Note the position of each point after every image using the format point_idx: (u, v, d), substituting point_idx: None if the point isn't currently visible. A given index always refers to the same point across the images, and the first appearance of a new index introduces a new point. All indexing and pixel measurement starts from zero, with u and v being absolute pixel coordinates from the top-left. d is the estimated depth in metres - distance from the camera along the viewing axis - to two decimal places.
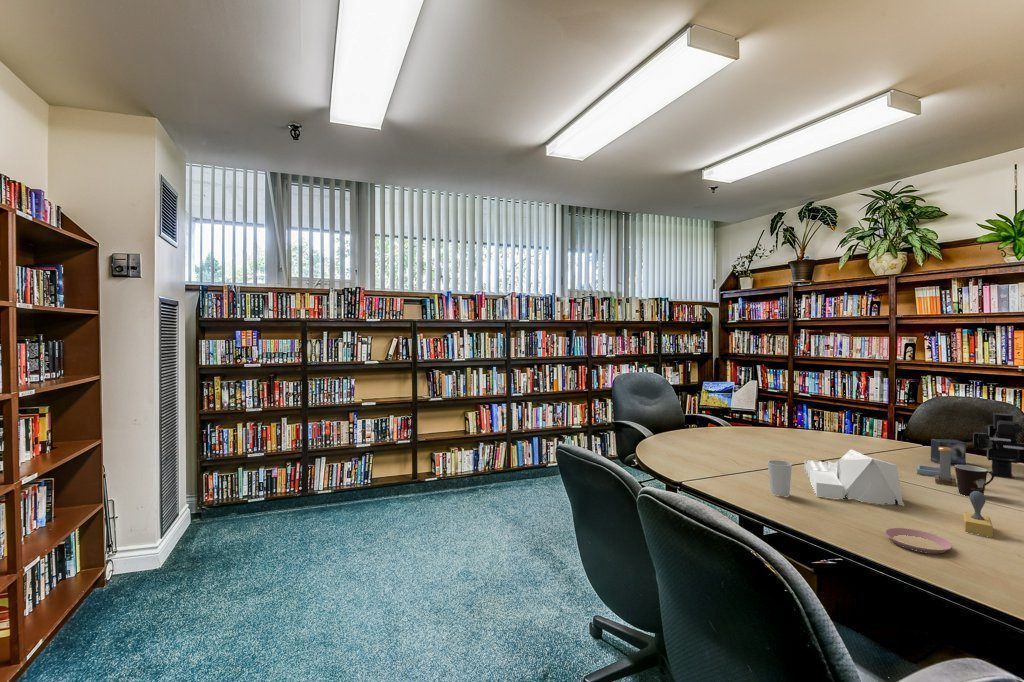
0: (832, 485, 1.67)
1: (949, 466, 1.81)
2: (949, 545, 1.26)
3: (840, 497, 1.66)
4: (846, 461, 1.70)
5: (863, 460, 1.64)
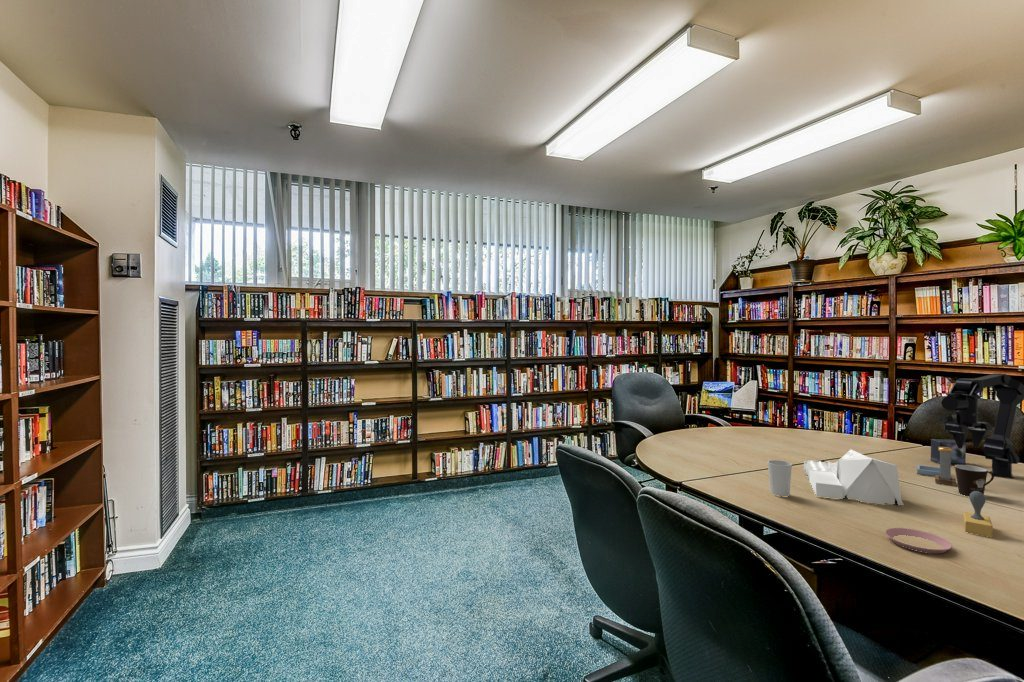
0: (832, 485, 1.67)
1: (949, 466, 1.81)
2: (949, 545, 1.26)
3: (840, 497, 1.66)
4: (846, 461, 1.70)
5: (863, 460, 1.64)
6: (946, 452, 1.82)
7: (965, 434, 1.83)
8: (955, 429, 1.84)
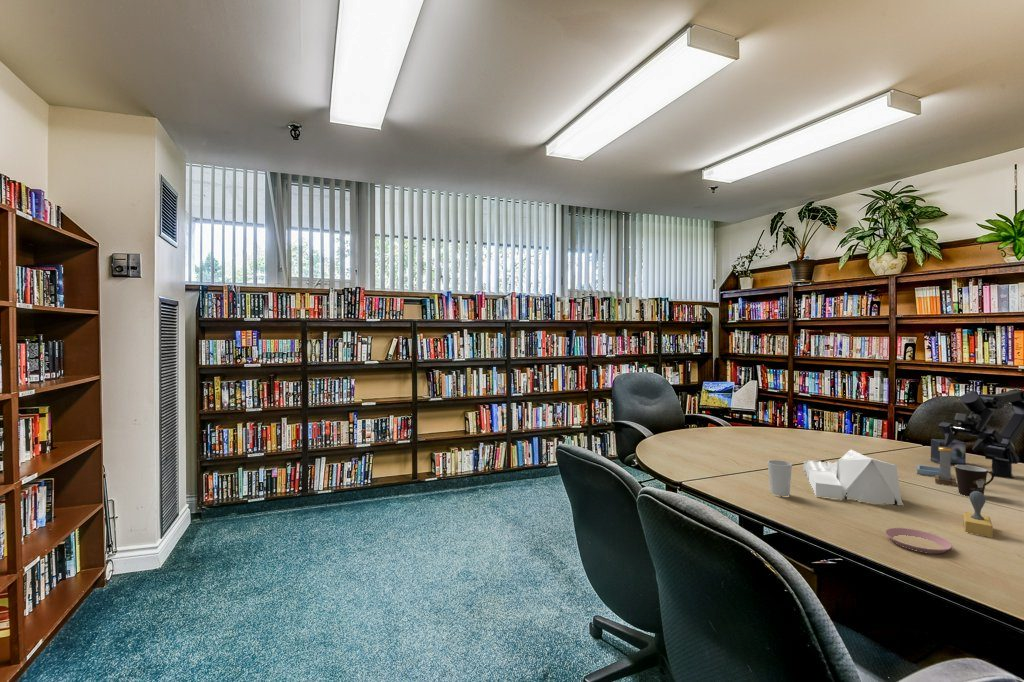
0: (831, 485, 1.67)
1: (949, 466, 1.81)
2: (949, 545, 1.26)
3: (839, 497, 1.66)
4: (845, 461, 1.70)
5: (862, 460, 1.64)
6: (946, 452, 1.82)
7: None
8: (999, 439, 1.78)
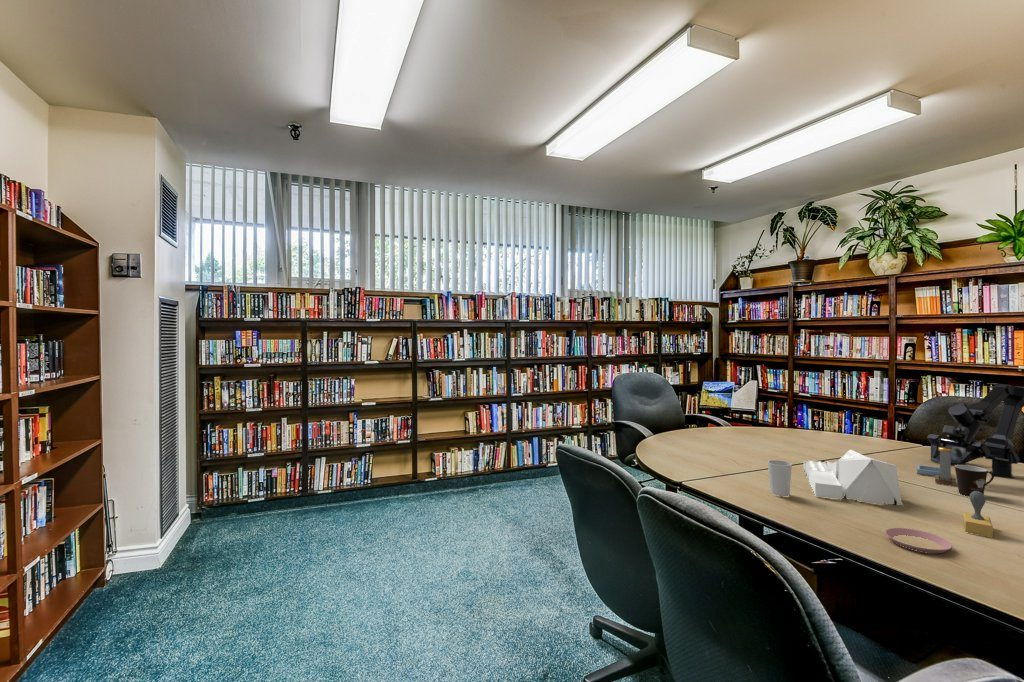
0: (831, 485, 1.67)
1: (949, 466, 1.81)
2: (949, 545, 1.26)
3: (839, 497, 1.66)
4: (845, 461, 1.70)
5: (862, 460, 1.64)
6: (946, 452, 1.82)
7: None
8: (987, 452, 1.76)
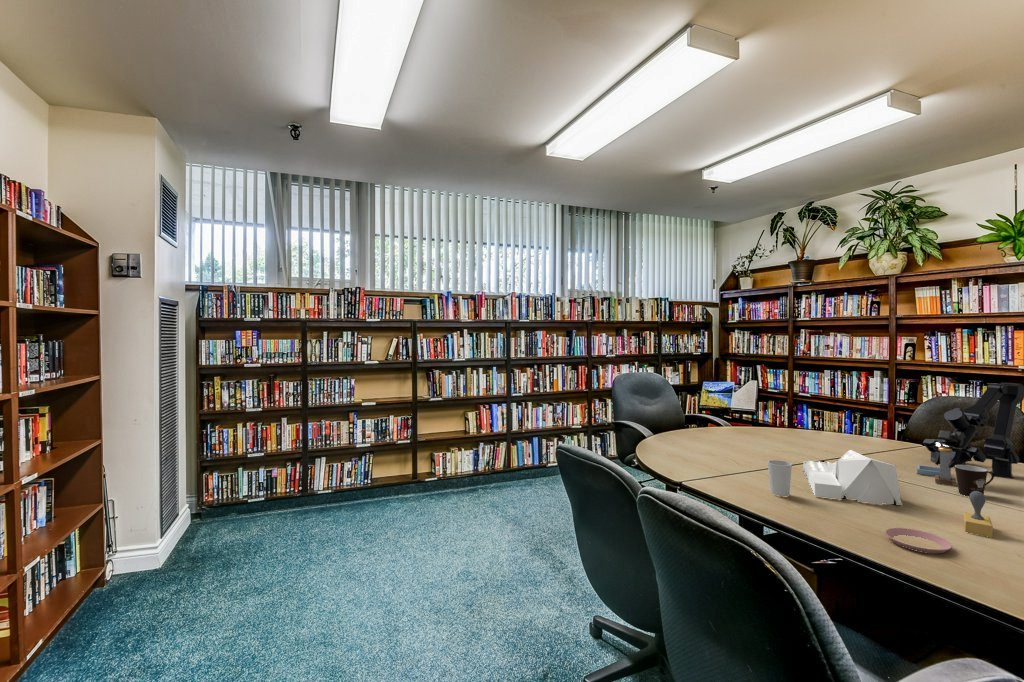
0: (830, 485, 1.67)
1: None
2: (949, 545, 1.26)
3: (838, 497, 1.66)
4: (845, 461, 1.70)
5: (862, 460, 1.64)
6: (946, 452, 1.82)
7: None
8: (983, 457, 1.76)
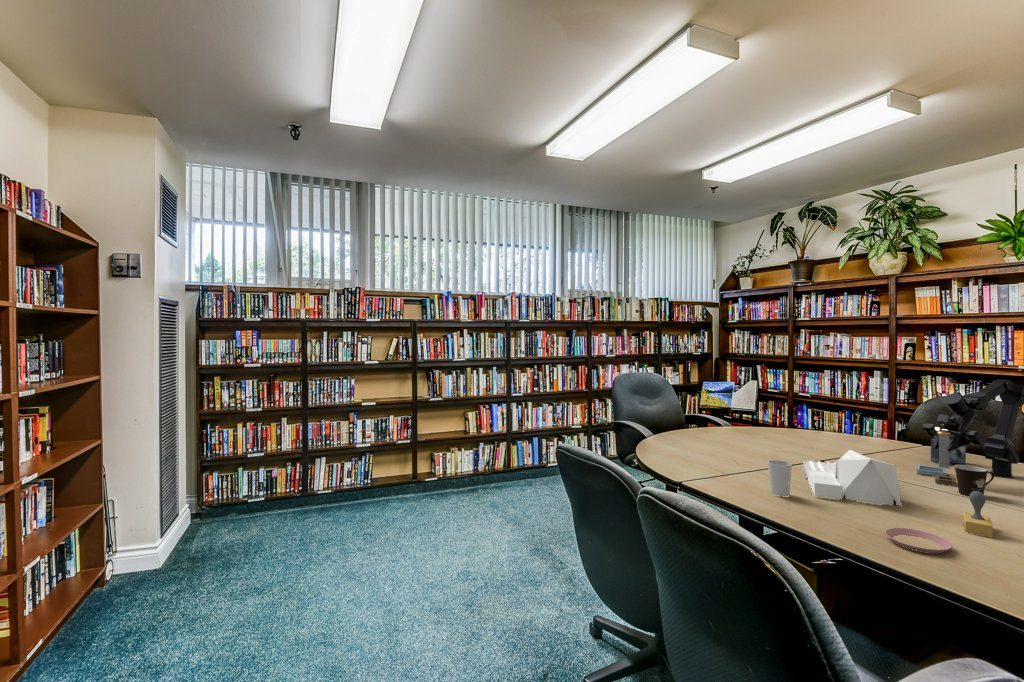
0: (830, 485, 1.67)
1: None
2: (949, 545, 1.26)
3: (838, 497, 1.66)
4: (844, 461, 1.70)
5: (861, 460, 1.64)
6: (945, 436, 1.82)
7: None
8: (982, 441, 1.76)
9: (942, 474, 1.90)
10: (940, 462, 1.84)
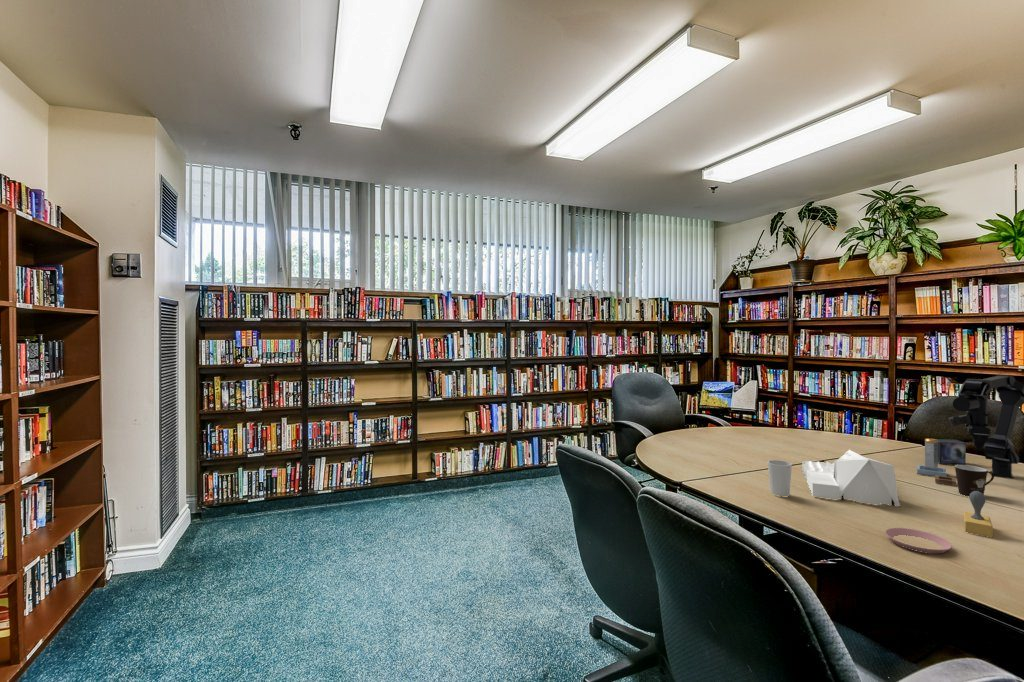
0: (828, 485, 1.67)
1: (932, 456, 1.94)
2: (949, 545, 1.26)
3: (836, 498, 1.66)
4: (842, 461, 1.69)
5: (859, 461, 1.64)
6: (929, 443, 1.95)
7: (989, 435, 1.80)
8: (983, 432, 1.79)
9: (942, 474, 1.90)
10: (926, 467, 1.96)
